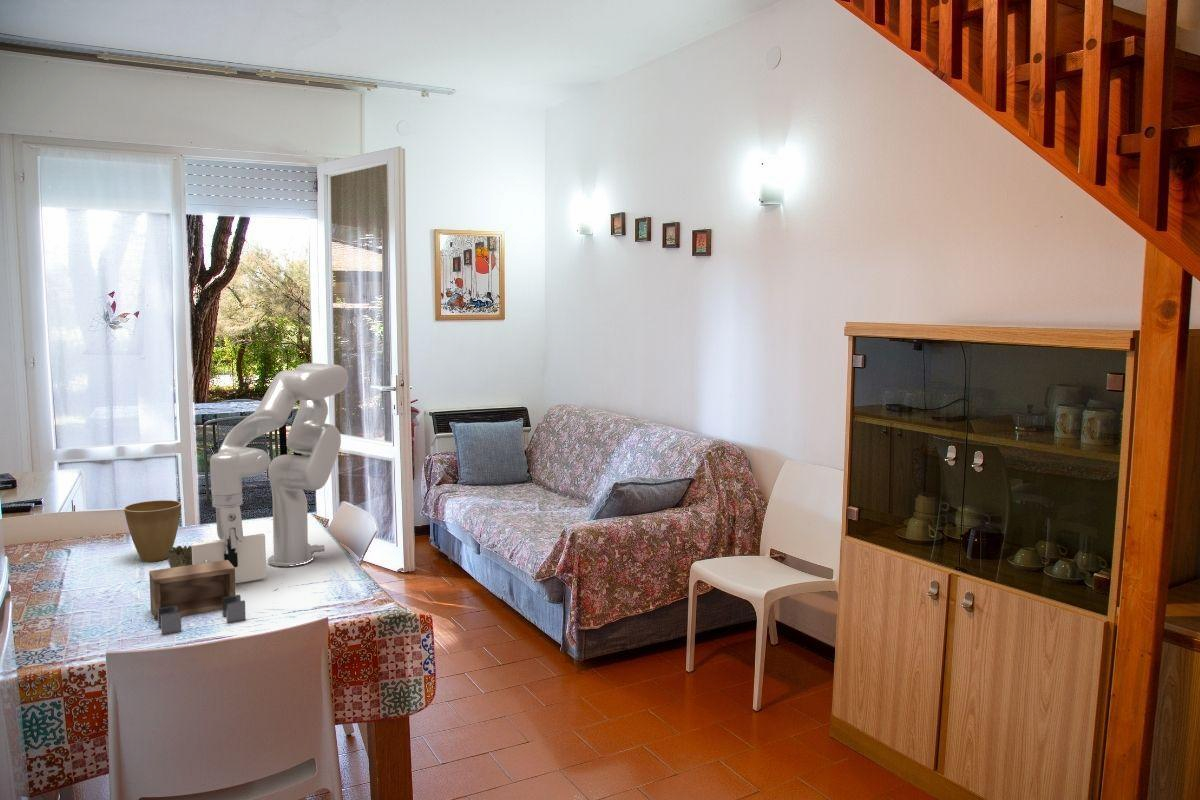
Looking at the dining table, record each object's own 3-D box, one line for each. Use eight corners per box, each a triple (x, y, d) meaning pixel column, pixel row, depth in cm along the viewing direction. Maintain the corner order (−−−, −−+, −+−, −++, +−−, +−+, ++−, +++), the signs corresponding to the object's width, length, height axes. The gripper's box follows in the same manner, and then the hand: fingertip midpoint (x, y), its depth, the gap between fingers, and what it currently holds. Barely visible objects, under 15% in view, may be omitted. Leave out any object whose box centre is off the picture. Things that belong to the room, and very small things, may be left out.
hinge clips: (239, 612, 211) (239, 594, 211) (245, 619, 206) (245, 601, 206) (158, 626, 201) (157, 607, 200) (162, 634, 196) (161, 615, 196)
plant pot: (191, 551, 261) (190, 499, 259) (168, 566, 246) (166, 511, 245) (141, 550, 261) (139, 499, 259) (115, 565, 246) (113, 510, 244)
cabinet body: (228, 597, 221) (227, 559, 220) (235, 606, 215) (234, 568, 214) (150, 610, 211) (149, 570, 210) (155, 620, 205) (154, 579, 204)
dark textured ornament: (185, 582, 233) (185, 553, 232) (161, 580, 234) (161, 551, 233) (203, 574, 240) (203, 546, 239) (180, 571, 241) (179, 544, 240)
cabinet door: (264, 575, 237) (263, 533, 236) (267, 578, 235) (265, 535, 233) (193, 587, 227) (191, 543, 225) (195, 591, 225) (193, 546, 223)
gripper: (249, 503, 224) (251, 571, 226) (235, 491, 237) (238, 556, 239) (218, 507, 220) (221, 577, 222) (206, 494, 233) (209, 560, 235)
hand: (230, 565), depth 231 cm, fingers closed on cabinet door, 2 cm apart
